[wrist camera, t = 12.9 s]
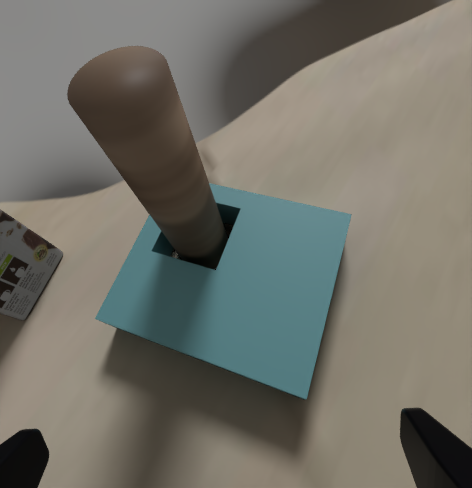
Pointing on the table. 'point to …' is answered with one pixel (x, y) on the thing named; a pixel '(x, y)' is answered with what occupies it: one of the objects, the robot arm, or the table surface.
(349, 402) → the table surface
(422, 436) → the robot arm
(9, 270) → the brown cookie box
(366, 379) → the table surface
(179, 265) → the holder block
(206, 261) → the peg
